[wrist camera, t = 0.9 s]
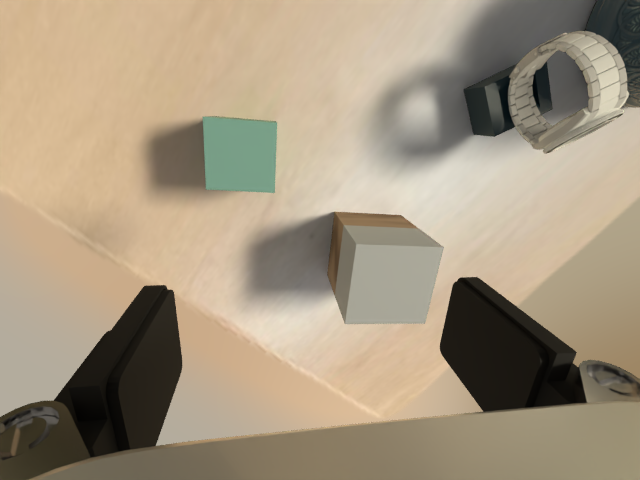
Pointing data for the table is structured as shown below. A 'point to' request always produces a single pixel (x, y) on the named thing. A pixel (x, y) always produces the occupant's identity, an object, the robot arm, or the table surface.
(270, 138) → the stack block
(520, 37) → the table surface
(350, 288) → the top block
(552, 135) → the watch
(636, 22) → the canister
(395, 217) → the base block
